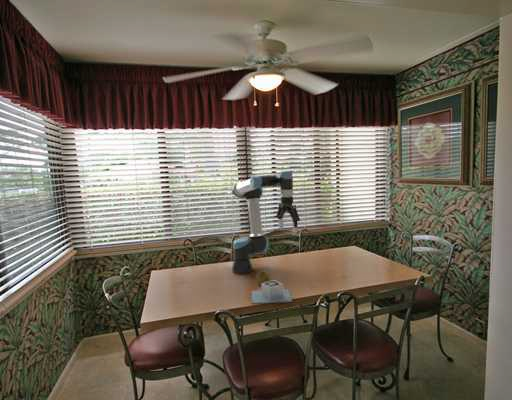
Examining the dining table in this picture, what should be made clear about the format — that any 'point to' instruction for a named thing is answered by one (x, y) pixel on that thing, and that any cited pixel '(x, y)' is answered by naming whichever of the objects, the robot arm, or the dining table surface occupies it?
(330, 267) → the dining table surface
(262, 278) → the potato
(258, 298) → the vent plate
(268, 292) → the grey open box
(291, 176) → the robot arm
